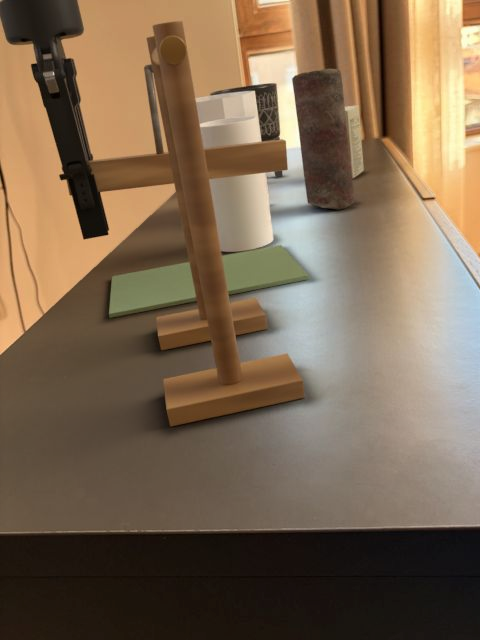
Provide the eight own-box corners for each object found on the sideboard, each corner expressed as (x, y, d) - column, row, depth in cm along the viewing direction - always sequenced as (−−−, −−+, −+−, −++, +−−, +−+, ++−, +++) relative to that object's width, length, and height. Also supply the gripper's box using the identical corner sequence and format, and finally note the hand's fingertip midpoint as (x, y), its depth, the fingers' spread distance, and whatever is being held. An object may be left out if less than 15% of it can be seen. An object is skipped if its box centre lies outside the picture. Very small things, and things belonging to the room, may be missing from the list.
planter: (273, 171, 137) (262, 83, 130) (297, 178, 126) (286, 82, 119) (216, 183, 134) (202, 93, 127) (236, 191, 123) (221, 93, 115)
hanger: (70, 193, 70) (46, 74, 65) (284, 168, 73) (276, 53, 68) (69, 195, 68) (44, 74, 64) (288, 170, 72) (280, 52, 67)
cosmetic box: (343, 172, 126) (338, 106, 120) (364, 171, 123) (360, 104, 118) (331, 180, 121) (325, 111, 115) (352, 179, 118) (347, 109, 113)
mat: (112, 280, 81) (111, 276, 81) (281, 248, 83) (281, 244, 83) (109, 318, 68) (108, 313, 68) (308, 279, 71) (308, 275, 70)
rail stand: (159, 331, 63) (95, 46, 52) (258, 311, 64) (215, 29, 53) (170, 427, 46) (79, 32, 35) (305, 397, 47) (257, 7, 36)
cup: (202, 250, 88) (180, 128, 81) (238, 233, 94) (220, 118, 87) (250, 253, 83) (231, 124, 76) (285, 235, 89) (269, 114, 82)
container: (204, 203, 117) (185, 98, 109) (279, 197, 112) (266, 88, 105) (173, 225, 104) (150, 108, 97) (257, 219, 100) (239, 96, 92)
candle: (302, 214, 99) (286, 74, 91) (311, 202, 105) (297, 71, 97) (351, 210, 97) (339, 67, 88) (358, 199, 103) (347, 64, 95)
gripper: (68, -21, 55) (130, 243, 65) (80, -2, 69) (130, 215, 78) (-21, -9, 54) (55, 257, 64) (8, 8, 68) (68, 226, 77)
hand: (96, 233), depth 71 cm, fingers closed on hanger, 2 cm apart
